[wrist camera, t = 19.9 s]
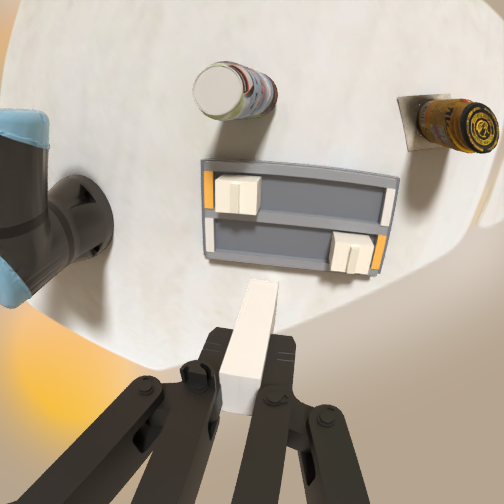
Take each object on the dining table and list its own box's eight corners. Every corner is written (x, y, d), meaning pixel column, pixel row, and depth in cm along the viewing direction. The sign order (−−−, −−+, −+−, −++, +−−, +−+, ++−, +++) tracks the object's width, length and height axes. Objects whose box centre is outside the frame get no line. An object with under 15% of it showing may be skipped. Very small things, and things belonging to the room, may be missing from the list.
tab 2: (223, 203, 38) (213, 214, 34) (223, 174, 36) (213, 181, 32) (260, 206, 37) (254, 217, 34) (261, 176, 36) (256, 183, 32)
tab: (328, 257, 39) (330, 273, 35) (332, 230, 37) (336, 244, 33) (363, 261, 38) (368, 277, 34) (368, 234, 36) (375, 249, 33)
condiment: (458, 145, 30) (508, 160, 19) (407, 151, 32) (448, 167, 21) (449, 93, 27) (499, 91, 16) (396, 97, 29) (435, 90, 18)
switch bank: (206, 251, 43) (201, 258, 41) (203, 158, 37) (197, 161, 35) (378, 269, 40) (381, 277, 38) (397, 176, 34) (402, 180, 31)
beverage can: (285, 108, 33) (278, 102, 22) (232, 128, 35) (201, 133, 24) (267, 65, 30) (250, 41, 20) (214, 87, 33) (176, 75, 22)
